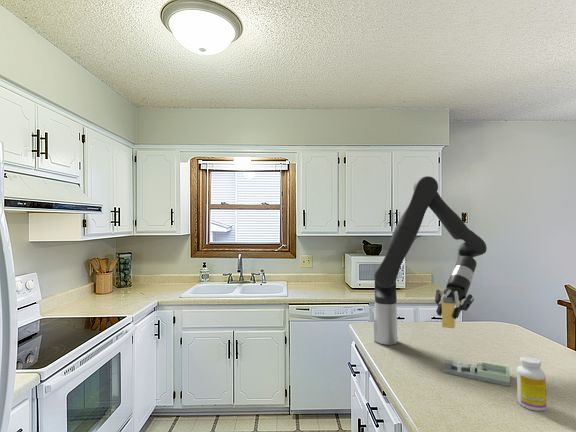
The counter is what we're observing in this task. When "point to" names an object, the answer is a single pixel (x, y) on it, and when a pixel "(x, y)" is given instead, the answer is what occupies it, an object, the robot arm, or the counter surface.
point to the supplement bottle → (531, 384)
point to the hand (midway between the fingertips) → (446, 316)
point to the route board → (480, 371)
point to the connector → (448, 313)
